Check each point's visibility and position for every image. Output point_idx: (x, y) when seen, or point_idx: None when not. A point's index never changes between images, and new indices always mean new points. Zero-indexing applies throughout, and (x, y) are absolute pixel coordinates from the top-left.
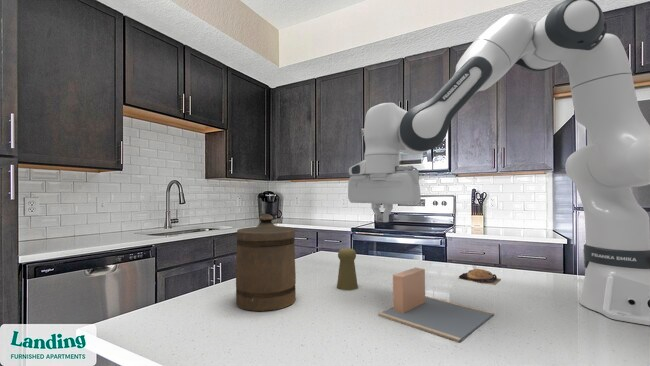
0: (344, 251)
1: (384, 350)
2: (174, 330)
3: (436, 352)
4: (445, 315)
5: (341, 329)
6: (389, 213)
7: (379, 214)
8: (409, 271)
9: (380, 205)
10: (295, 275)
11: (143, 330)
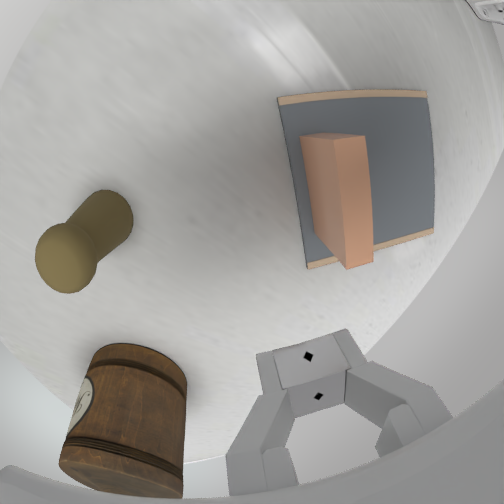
0: (77, 288)
1: (379, 319)
2: (199, 442)
3: (420, 273)
4: (389, 167)
5: (307, 338)
6: (383, 371)
7: (285, 402)
8: (353, 200)
9: (293, 467)
10: (145, 385)
11: (186, 451)
